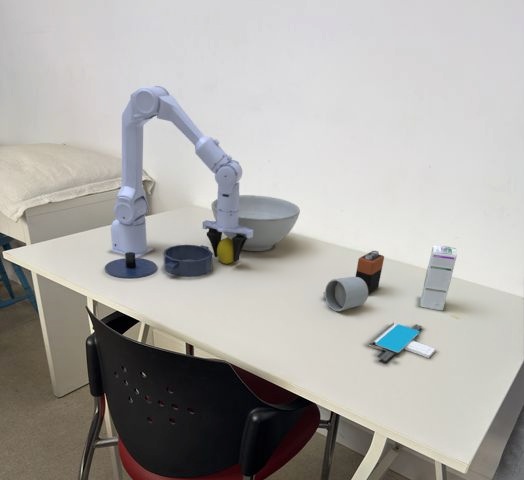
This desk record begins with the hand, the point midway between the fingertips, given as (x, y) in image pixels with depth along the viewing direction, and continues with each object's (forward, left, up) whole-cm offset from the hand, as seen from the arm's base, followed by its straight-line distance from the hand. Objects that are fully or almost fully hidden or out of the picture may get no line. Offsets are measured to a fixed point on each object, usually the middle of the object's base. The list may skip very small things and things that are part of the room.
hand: (226, 258), depth 139 cm
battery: (+39, +5, -2) cm, 39 cm away
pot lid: (-19, -18, -1) cm, 26 cm away
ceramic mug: (+36, -8, -2) cm, 37 cm away
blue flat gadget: (+54, -20, -2) cm, 58 cm away
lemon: (0, 0, -2) cm, 2 cm away
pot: (-7, -9, -2) cm, 12 cm away
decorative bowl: (-1, +20, -2) cm, 20 cm away
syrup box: (+56, +5, -2) cm, 56 cm away
